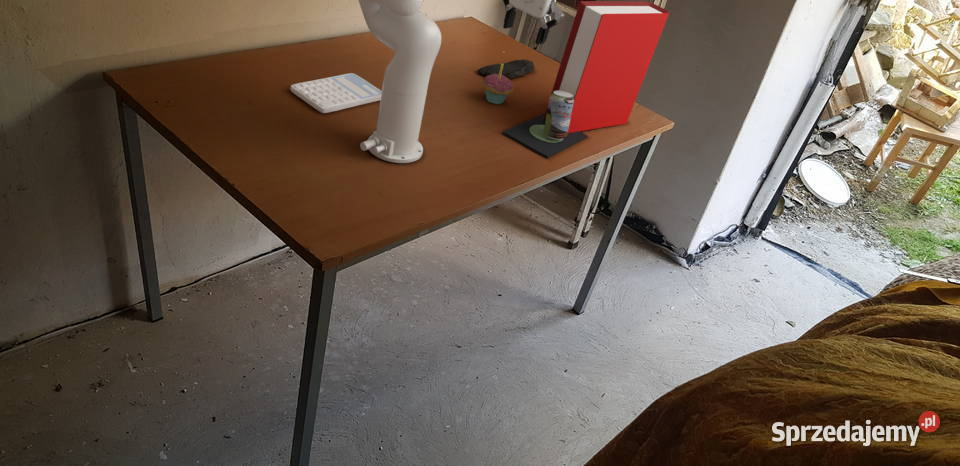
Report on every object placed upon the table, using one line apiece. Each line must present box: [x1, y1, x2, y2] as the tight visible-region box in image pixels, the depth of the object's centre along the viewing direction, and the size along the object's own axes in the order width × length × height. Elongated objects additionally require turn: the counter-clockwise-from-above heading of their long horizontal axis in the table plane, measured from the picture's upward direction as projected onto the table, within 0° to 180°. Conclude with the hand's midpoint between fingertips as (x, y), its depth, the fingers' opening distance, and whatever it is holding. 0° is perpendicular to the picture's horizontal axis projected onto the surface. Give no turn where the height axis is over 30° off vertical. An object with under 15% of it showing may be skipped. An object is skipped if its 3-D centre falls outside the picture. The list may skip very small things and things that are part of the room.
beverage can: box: [544, 90, 574, 140], centre depth 177 cm, size 6×7×12 cm
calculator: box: [289, 72, 382, 114], centre depth 174 cm, size 13×20×2 cm, turn 138°
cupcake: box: [481, 61, 514, 105], centre depth 189 cm, size 9×8×12 cm
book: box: [543, 0, 670, 133], centre depth 185 cm, size 27×8×32 cm, turn 128°
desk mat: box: [501, 113, 588, 159], centre depth 181 cm, size 20×14×1 cm
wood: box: [477, 59, 535, 80], centre depth 209 cm, size 22×7×3 cm, turn 133°
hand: (523, 35), depth 167 cm, fingers open, 9 cm apart
